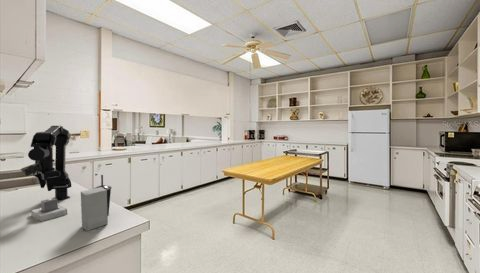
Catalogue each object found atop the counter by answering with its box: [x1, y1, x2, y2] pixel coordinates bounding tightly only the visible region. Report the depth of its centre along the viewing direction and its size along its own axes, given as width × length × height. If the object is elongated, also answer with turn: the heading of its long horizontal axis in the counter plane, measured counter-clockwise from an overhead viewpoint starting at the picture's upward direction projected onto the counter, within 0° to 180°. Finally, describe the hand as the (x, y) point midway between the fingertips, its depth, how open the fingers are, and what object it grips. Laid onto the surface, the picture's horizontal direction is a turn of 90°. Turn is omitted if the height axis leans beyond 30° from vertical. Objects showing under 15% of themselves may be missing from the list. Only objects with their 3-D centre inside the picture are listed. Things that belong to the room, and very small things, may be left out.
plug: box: [40, 197, 59, 213], centre depth 104 cm, size 4×5×7 cm
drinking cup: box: [92, 174, 112, 216], centre depth 103 cm, size 8×8×20 cm
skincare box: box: [80, 187, 109, 232], centre depth 93 cm, size 8×7×16 cm
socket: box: [30, 204, 68, 222], centre depth 104 cm, size 12×10×3 cm
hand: (45, 189), depth 107 cm, fingers open, 9 cm apart
